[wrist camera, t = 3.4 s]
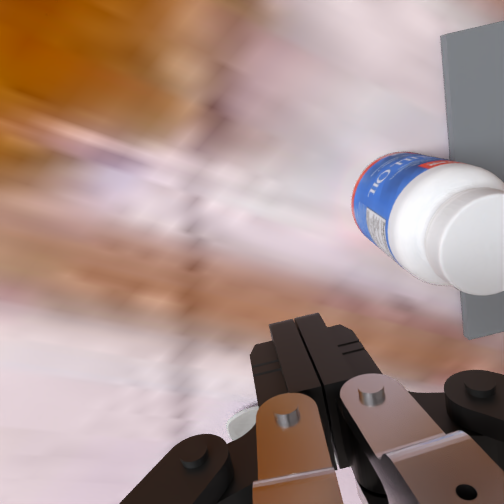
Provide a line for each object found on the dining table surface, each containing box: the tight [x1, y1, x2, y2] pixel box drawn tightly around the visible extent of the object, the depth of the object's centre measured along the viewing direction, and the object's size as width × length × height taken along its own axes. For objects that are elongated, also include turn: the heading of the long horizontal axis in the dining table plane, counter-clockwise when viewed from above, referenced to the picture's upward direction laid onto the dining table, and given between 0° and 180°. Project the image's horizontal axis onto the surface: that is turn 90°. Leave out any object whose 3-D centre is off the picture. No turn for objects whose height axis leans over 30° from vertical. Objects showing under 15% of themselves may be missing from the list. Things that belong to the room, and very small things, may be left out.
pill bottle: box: [351, 152, 504, 296], centre depth 21 cm, size 6×5×10 cm
